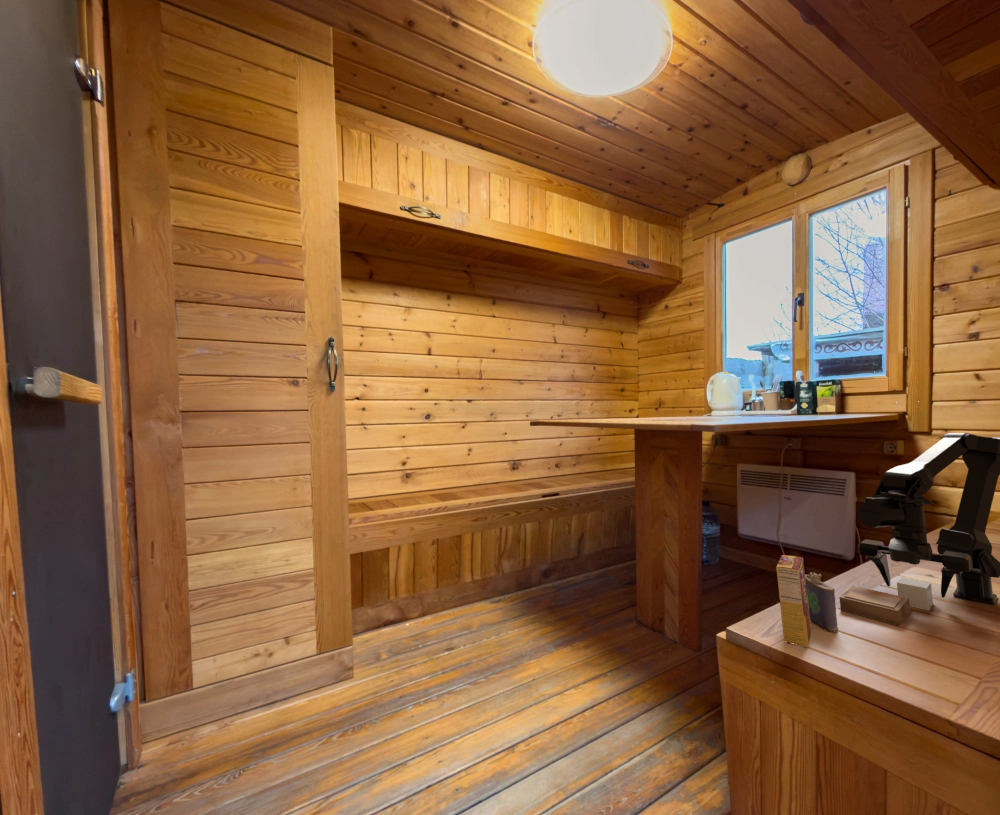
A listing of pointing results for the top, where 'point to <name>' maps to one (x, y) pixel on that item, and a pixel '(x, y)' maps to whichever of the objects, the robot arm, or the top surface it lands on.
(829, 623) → the flask
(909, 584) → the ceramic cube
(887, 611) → the walnut plinth
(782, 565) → the candy box
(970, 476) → the robot arm
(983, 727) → the top surface
